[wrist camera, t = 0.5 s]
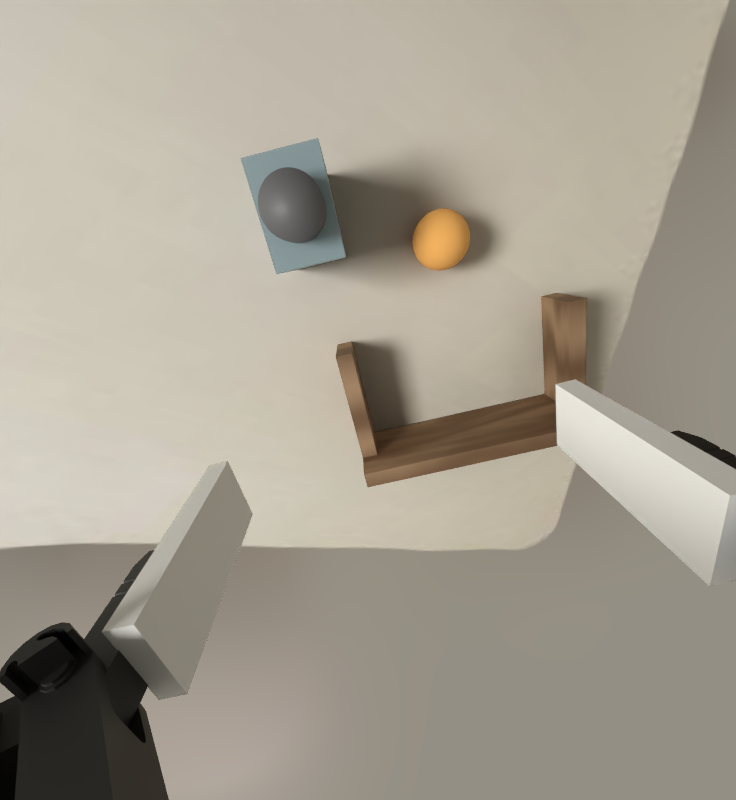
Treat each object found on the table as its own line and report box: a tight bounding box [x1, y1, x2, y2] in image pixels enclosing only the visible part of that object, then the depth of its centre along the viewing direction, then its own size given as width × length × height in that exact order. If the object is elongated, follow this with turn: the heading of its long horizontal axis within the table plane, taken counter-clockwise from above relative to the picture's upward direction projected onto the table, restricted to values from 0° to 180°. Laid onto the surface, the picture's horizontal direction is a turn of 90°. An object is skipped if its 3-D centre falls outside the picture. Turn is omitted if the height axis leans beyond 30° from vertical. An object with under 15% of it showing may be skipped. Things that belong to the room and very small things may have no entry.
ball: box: [413, 208, 470, 270], centre depth 31 cm, size 5×5×5 cm
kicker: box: [241, 138, 347, 274], centre depth 27 cm, size 7×5×12 cm
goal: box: [336, 293, 587, 487], centre depth 35 cm, size 12×23×8 cm, turn 103°
